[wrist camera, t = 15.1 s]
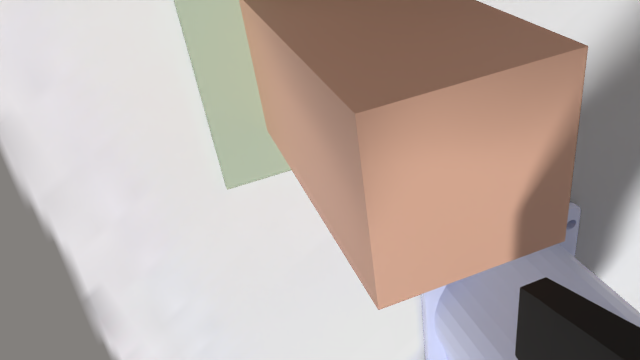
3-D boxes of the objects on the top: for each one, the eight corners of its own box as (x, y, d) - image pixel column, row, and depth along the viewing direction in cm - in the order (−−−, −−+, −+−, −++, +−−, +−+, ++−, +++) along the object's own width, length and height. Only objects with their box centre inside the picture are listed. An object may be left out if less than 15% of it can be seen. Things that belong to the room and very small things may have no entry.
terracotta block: (390, 95, 20) (564, 240, 13) (267, 130, 19) (378, 310, 12) (379, -39, 18) (588, 46, 10) (237, -6, 17) (354, 113, 9)
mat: (431, 122, 22) (435, 125, 21) (225, 185, 20) (227, 189, 20) (422, -114, 17) (427, -113, 17) (158, -58, 16) (158, -56, 15)
